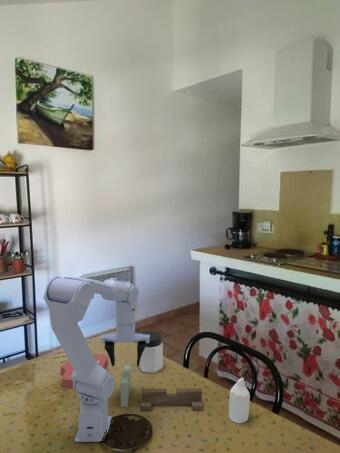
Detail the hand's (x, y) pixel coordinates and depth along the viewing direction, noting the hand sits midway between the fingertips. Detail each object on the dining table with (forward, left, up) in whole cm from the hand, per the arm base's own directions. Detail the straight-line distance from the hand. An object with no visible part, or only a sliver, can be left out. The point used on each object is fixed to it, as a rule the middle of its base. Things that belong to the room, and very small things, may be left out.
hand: (125, 364), depth 105 cm
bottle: (-10, -33, -11) cm, 36 cm away
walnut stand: (-4, -14, -10) cm, 18 cm away
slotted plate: (0, 0, -10) cm, 10 cm away
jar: (+18, -7, -11) cm, 22 cm away
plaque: (+14, +17, -11) cm, 24 cm away
